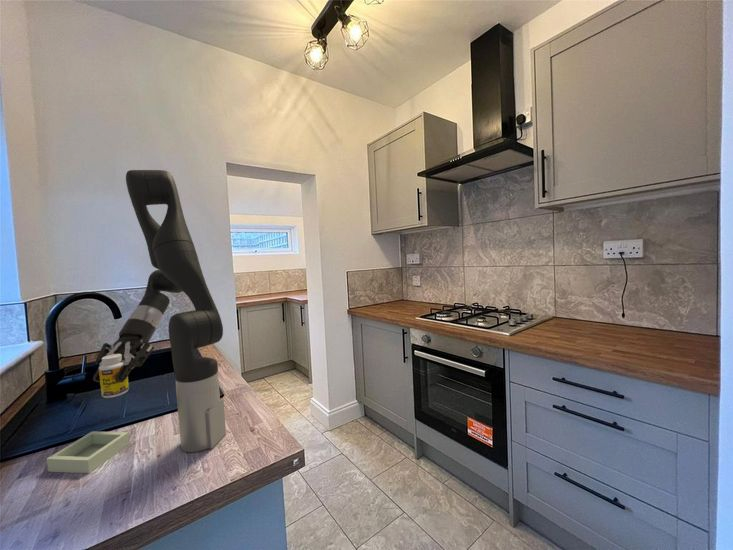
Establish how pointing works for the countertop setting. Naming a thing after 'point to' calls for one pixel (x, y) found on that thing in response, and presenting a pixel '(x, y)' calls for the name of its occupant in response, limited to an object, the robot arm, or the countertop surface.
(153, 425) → the countertop surface
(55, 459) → the socket block
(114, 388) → the supplement bottle
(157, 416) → the countertop surface
